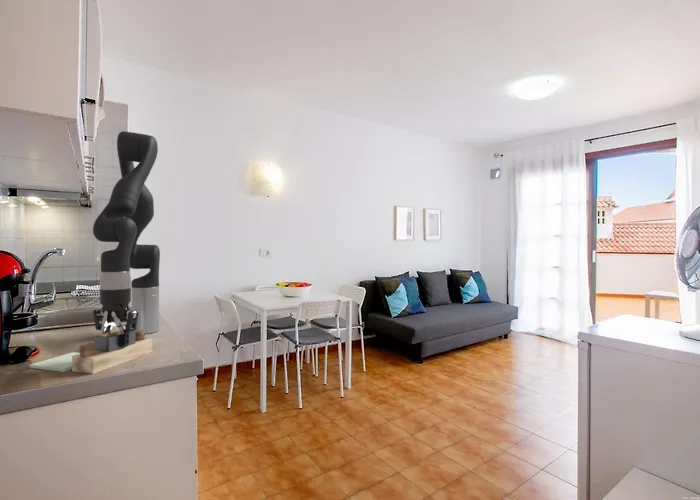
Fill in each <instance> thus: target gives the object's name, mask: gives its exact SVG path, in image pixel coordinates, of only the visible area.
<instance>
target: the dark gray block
mask: <svg viewBox="0 0 700 500" xmlns="http://www.w3.org/2000/svg"><path fill="white" fill-rule="evenodd" d="M120 334H121V333H120V331H119V330H114V331H110V332H106V333H102V332H101V333H99V334H97V335H95V336H94V337H93V338H94V339H93V343H96V351H102V352H111V351H114V350H117V349H120V348H123V347H120ZM133 344H136V330H135V331H132V332H130V333H129V344H128V346H130V345H133ZM126 347H127V346H126Z"/></svg>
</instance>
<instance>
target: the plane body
mask: <svg viewBox="0 0 700 500" xmlns="http://www.w3.org/2000/svg"><path fill="white" fill-rule="evenodd" d="M145 335H146V334H145V331H136V344H133V345H130V346H127V347H123V348H120V349H117V350H114V351H111V352H102V351H96V343H94V342H88V343H85V344H81V345H80V346H79V349H80V350H79V353H80V354H78V355H75V356H72V369H71V370H72V371H71V372H76V373H83V374H90V375H91V374H92V375H94V374H96V373H97V374H98V373H99V372H102V371H105V370H107V369H110V368H114V367H117V366H119V365H121V364H124V363H127V362H130V361H132V360H135V359H137V358H140V357H143V356H146V355H149V354H150V353H153V349H154V347H153V346H154V345H153V343H154V342H153V339H152V338H145Z"/></svg>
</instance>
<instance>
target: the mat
mask: <svg viewBox="0 0 700 500" xmlns="http://www.w3.org/2000/svg"><path fill="white" fill-rule="evenodd" d="M78 354H80V352H77V351H76V352H74V351H71V352H68V353H66V354H63V355H62V354H61V355H58V356H55V357H52V358H49V359H46V360H42V361H39V362H38V361H37V362H35V363H32V364H29V369H37V370H45V371H53V372H63V373H65V372H68V371H71V370H72V356H75V355H78Z"/></svg>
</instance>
